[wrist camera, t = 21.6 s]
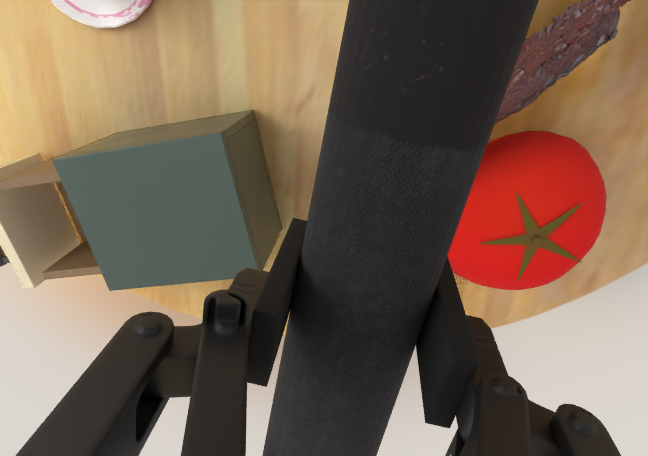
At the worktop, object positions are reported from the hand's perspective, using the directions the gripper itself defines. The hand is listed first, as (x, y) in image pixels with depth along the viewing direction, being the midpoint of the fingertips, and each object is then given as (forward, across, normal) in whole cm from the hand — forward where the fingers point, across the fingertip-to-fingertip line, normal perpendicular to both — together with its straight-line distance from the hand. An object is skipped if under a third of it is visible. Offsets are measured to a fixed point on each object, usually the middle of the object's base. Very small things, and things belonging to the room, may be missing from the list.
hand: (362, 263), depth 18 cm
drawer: (+24, -28, -13) cm, 39 cm away
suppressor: (-5, 0, 0) cm, 5 cm away
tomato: (+25, +13, -3) cm, 28 cm away
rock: (+22, +9, +6) cm, 24 cm away
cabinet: (+25, -16, -9) cm, 31 cm away
